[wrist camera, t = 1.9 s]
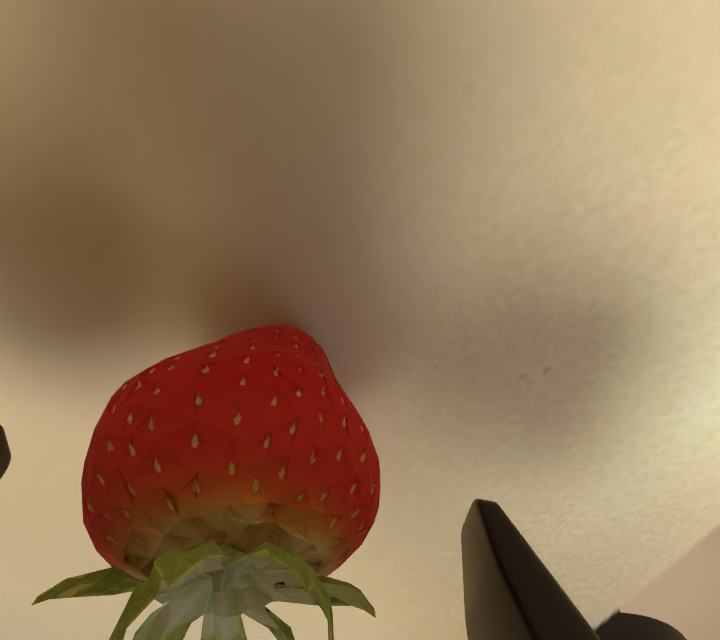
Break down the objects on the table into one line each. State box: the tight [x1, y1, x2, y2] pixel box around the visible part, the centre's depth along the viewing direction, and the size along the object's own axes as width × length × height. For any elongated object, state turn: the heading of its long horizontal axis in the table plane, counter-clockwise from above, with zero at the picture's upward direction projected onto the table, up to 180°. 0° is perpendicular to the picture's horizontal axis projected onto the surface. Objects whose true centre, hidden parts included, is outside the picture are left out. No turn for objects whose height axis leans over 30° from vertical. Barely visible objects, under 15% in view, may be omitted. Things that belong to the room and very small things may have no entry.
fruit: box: [32, 324, 380, 640], centre depth 9 cm, size 5×5×8 cm
